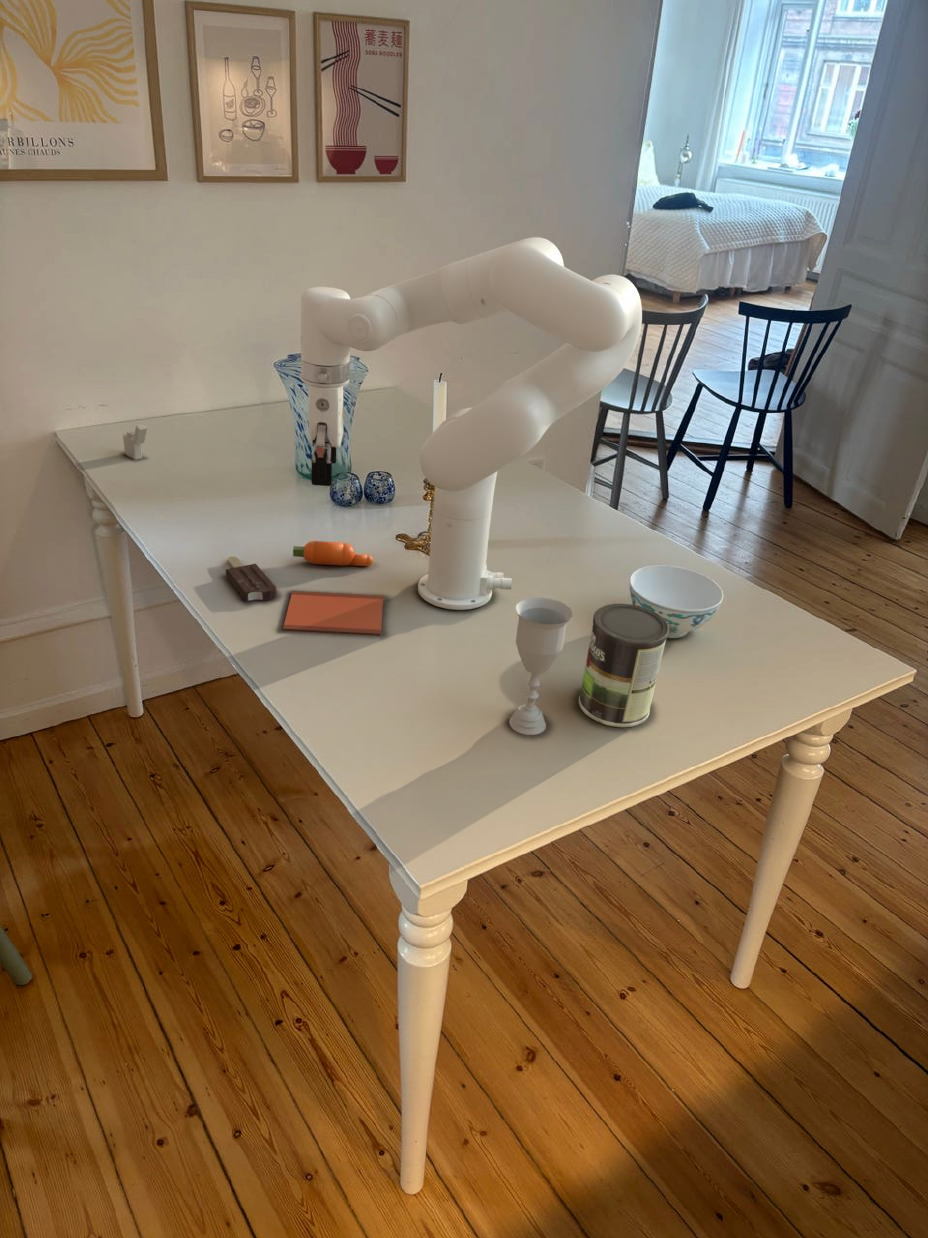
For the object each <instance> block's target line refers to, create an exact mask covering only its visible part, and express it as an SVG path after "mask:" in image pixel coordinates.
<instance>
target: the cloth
mask: <svg viewBox="0 0 928 1238" xmlns="http://www.w3.org/2000/svg"><path fill="white" fill-rule="evenodd" d="M383 607H384V595H379V594H377V595H376V594H359V593H358V594H357V593H343V592H342V593H339V592H323V591H321V592H320V591H302V590H292V591H291V595H290V599H289V603H288V607H287V611H286V615H285V619H284V623H283V627H282V631H289V632H290V631H291V632H307V633H308V632H309V633H327V634H329V633H330V634H346V635H349V634H350V635H351V634H352V635H366V636H367V635H369V636H381V635H382V634H381V633H382V621H383V609H384V608H383Z"/></svg>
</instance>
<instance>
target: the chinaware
mask: <svg viewBox="0 0 928 1238" xmlns="http://www.w3.org/2000/svg"><path fill="white" fill-rule="evenodd" d="M629 595H630V599H631V602H632V605H637V606H641V607H644V608H647V609H649V610H651V611H653V612H655V613H657V614H659V615H660V616H661V617H663V618H664V619H665V620H666V622H667V623H668V626H669V634H668V636H667V638H669V639H678V638H682V637H685V636H686V635H687V634H688V633H690V632H692V631H695V630H697V629H699V628H700V627H703V626H704V625H706V624H707V623H708V622H709V621H710V620H711V619H712V618H713V616H714V615H715V614H716V613H717V612H718V609H719V608H720V606H721V605H722V602H723V601H724V592H723V589H722V587H720V585H719V584H718V583H717V582H715V580H713V579H711V578H710V577H708V576H707V575H705V574H702V573H700V572H698V571H696V570H693V569H689V568H686V567H682V566H676V565H667V564H665V565H664V564H657V565H656V564H655V565H647V566H644V567H640V568H638V569H636V570H634V572H632V573H631V575H630V577H629Z"/></svg>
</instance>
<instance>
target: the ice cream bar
mask: <svg viewBox="0 0 928 1238" xmlns="http://www.w3.org/2000/svg"><path fill="white" fill-rule="evenodd" d="M227 562H228V564H229V565H230V568H226V569H225V576H226V578H227V579H228V580H229V582H230V583H231V584H232V586H233V587H234V588H235V589H236V591H237V593H239V594H240V596H241V597H242V598H243V600H244V601H245V602H253V601H263V602H265V601H270V600H274V599H275V598H276V597H277V586H276V585H275V584H274V583H273V582H272V581H271V579H270V578H269V577H268V576H267V575H266V573H264V572H263V570H262V569H261V568H260V567H259V565H258V564H257V563H251V564H246V565H245V564H243V563H242V562H241V560H240V559H239V558H238V557H237V556H235V555H232V556H228V557H227Z"/></svg>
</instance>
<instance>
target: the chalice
mask: <svg viewBox="0 0 928 1238" xmlns="http://www.w3.org/2000/svg"><path fill="white" fill-rule="evenodd" d="M515 611H516V613H517V616H518V621H517V628H516V629H517V630H516V637H515V643H516V648H517V652H518V655H519V658H520V660H521V662H522V664H523V667H524V669H525V671H526V672H528V673H530V678H529V680H528V681H527V683H526V684H527V685H528V690H527V691H526V692H525V693H524V695H525V697H526V699H527V700H526V701H527V702H526V703H525V704H522V705H520V706H518V707H517V708H516V709H515V711H514V713H513V714H512V715H511V717H510V718H509V721H508V723H509V726H510V728H511V729H512V730H514V731H515V732H516V733H519V734H522V735H525V736H535V735H539V734H542V733H543V732H544V731H546V729H547V723H546V721H545V717H544V715H543V711H542V710H541V709H540V707H538V706H537V705H535V701H536V699H537V698H539V693H538V692H537V689H538V687H539V686H540V684H541V683H540V681H539V676H540V675H542V674H544V673H546V672H547V671H548V669H549V668H550V667H551V666H552V665H553V664H554V662H555V661H556V659H557V658H558V657H559V655H560V653H561V652H562V650H563V648H564V644H565V638H566V631H567V625H568V622H569V621H571V619H572V618H573V614H574V613H573V610H572V608H571V607H569V606H568V605H567V604H566V603H563V602H561V601H559V600H556V599H552V598H547V597H530V598H525V599H523V600H521V601H519V602H518V603H517V604H516V606H515Z"/></svg>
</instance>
